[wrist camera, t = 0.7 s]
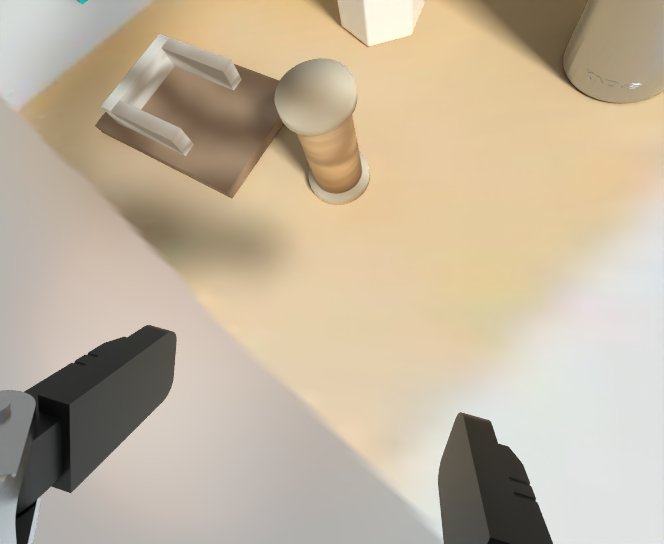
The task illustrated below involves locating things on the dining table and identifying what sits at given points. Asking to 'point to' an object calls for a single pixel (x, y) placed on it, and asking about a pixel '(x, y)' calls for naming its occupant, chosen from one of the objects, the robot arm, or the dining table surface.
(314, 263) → the dining table surface
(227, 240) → the dining table surface
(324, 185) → the bobbin
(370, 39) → the jar
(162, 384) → the robot arm
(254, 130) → the brown board with bracket
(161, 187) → the dining table surface
